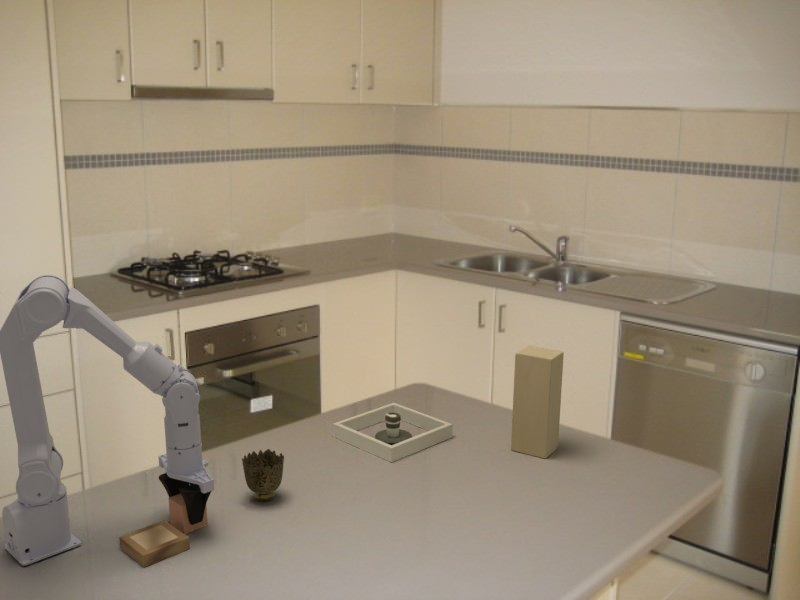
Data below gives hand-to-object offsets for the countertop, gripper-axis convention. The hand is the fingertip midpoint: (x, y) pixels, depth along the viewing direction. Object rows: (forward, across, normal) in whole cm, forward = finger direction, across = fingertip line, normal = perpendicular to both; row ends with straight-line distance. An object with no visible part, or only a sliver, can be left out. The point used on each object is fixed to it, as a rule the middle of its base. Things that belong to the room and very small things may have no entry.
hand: (188, 517), depth 145 cm
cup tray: (+1, +3, -51) cm, 51 cm away
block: (+1, 0, 0) cm, 1 cm away
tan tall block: (+2, -22, -68) cm, 71 cm away
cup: (+2, -1, -15) cm, 15 cm away
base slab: (+1, -3, +8) cm, 9 cm away
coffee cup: (+1, +3, -51) cm, 51 cm away
